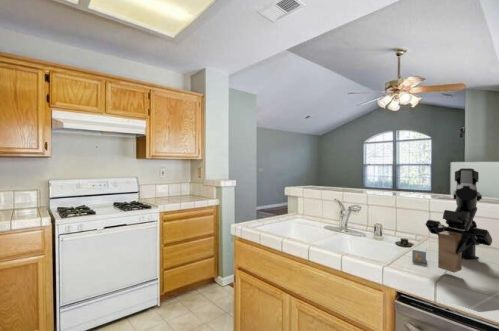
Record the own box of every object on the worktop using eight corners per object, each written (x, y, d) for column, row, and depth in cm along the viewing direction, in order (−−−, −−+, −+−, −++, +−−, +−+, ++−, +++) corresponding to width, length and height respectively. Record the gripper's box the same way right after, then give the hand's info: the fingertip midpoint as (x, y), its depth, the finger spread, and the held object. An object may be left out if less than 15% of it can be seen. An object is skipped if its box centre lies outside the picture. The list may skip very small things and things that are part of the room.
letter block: (413, 257, 112) (413, 246, 112) (426, 259, 109) (426, 248, 109) (412, 261, 108) (412, 249, 108) (425, 263, 105) (425, 252, 105)
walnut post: (445, 264, 98) (445, 231, 97) (461, 269, 93) (461, 234, 93) (438, 267, 95) (438, 232, 95) (454, 272, 91) (454, 236, 91)
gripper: (428, 198, 104) (411, 230, 99) (489, 205, 88) (473, 244, 82) (438, 216, 108) (423, 248, 103) (498, 226, 92) (484, 264, 86)
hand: (447, 250), depth 93 cm, fingers closed on walnut post, 5 cm apart
